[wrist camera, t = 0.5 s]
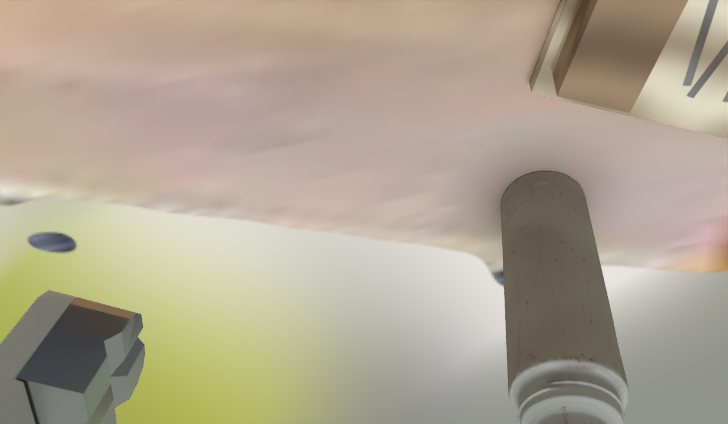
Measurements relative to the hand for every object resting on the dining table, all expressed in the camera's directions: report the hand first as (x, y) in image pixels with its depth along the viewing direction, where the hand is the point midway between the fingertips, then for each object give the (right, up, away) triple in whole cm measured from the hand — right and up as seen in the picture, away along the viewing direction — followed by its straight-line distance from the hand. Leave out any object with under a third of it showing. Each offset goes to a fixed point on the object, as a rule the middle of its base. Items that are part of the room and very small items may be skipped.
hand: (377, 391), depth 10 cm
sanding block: (+18, +17, +36) cm, 44 cm away
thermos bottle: (+17, +4, +49) cm, 52 cm away
